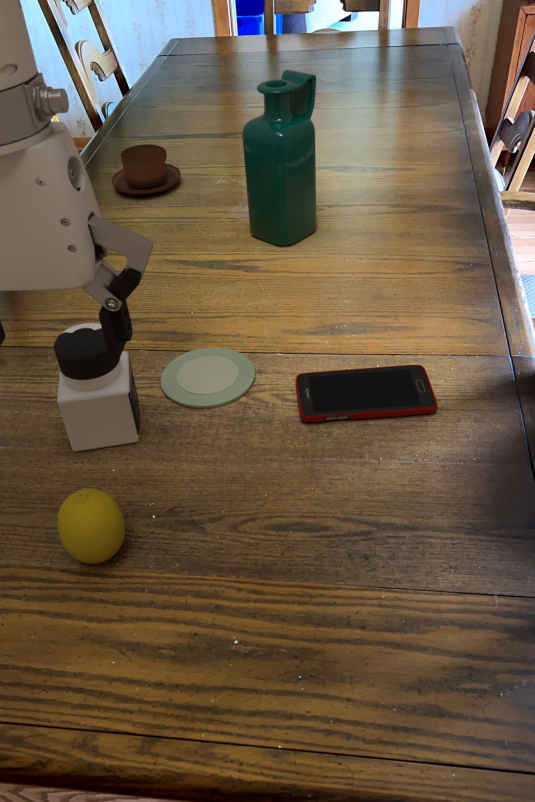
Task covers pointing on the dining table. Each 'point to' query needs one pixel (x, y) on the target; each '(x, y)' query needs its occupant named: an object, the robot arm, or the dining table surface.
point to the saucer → (207, 377)
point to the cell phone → (364, 393)
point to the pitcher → (282, 161)
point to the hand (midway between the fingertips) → (56, 348)
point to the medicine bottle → (95, 390)
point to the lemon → (91, 526)
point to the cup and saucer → (145, 171)
